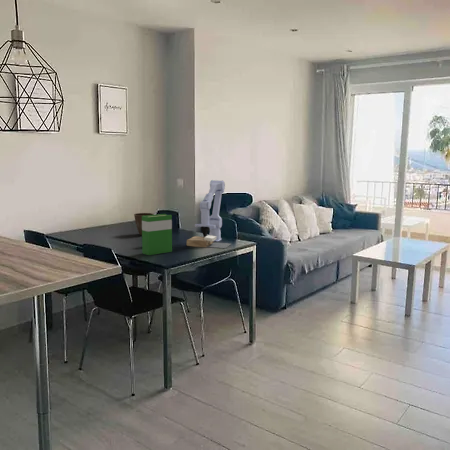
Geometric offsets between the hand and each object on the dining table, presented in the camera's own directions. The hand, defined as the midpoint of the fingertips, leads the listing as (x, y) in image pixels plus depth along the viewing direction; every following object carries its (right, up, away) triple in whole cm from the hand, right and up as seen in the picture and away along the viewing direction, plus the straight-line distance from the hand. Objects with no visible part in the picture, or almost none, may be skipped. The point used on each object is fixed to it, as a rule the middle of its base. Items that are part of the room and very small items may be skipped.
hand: (205, 237), depth 330 cm
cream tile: (+4, 0, -1) cm, 4 cm away
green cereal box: (-30, -9, -26) cm, 40 cm away
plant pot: (-49, +1, +38) cm, 62 cm away
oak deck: (-4, -5, +2) cm, 6 cm away
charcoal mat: (+10, -6, -2) cm, 11 cm away
